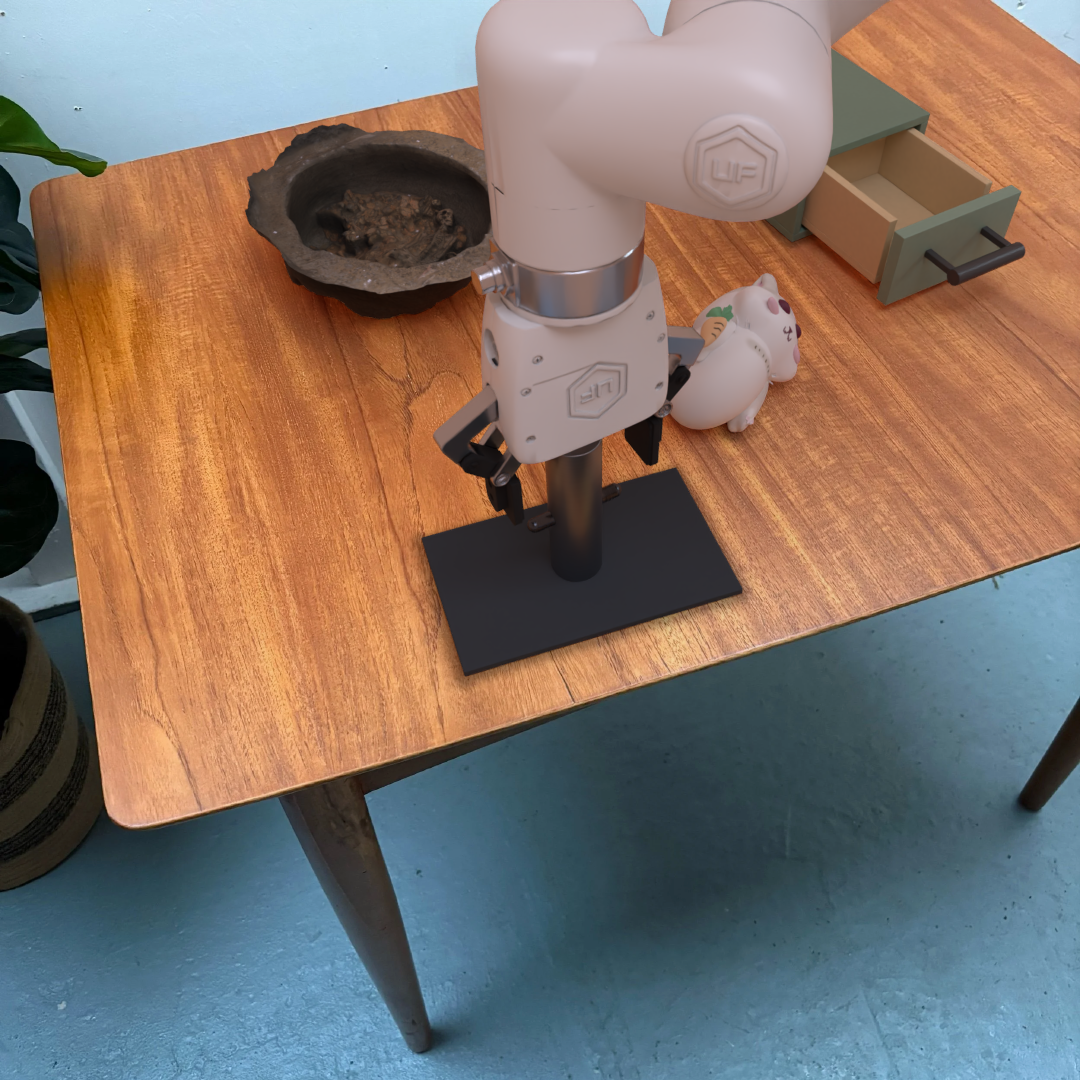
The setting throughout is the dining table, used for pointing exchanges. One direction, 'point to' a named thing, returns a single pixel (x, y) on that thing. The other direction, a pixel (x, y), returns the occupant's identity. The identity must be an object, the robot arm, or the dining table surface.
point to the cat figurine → (739, 357)
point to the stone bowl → (376, 216)
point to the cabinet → (856, 123)
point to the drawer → (911, 215)
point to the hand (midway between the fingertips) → (576, 479)
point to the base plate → (586, 606)
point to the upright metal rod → (575, 511)
